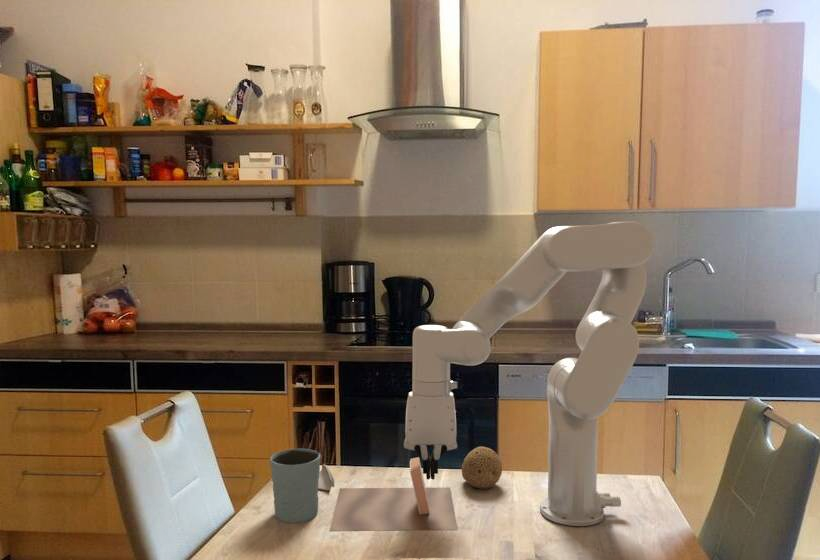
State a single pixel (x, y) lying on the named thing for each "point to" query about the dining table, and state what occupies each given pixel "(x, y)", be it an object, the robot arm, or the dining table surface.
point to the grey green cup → (295, 484)
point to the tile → (419, 486)
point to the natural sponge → (482, 468)
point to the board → (392, 510)
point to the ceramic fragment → (325, 479)
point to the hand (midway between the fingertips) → (430, 476)
